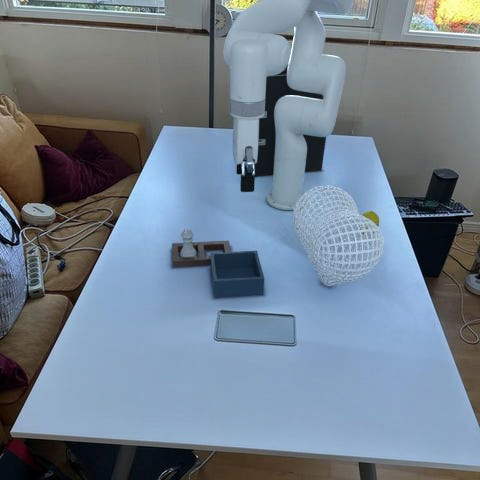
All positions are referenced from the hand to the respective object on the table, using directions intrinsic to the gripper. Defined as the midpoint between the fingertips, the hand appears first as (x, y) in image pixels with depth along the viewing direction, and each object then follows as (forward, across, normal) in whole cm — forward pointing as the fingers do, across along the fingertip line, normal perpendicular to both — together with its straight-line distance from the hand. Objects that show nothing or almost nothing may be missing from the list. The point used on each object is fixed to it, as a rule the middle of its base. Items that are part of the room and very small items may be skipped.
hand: (245, 182), depth 111 cm
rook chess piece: (+22, -2, -14) cm, 26 cm away
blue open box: (+22, +10, -3) cm, 24 cm away
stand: (+22, -2, -11) cm, 24 cm away
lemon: (+22, -9, +37) cm, 44 cm away
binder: (+21, -57, +20) cm, 64 cm away
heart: (+22, +12, +20) cm, 32 cm away
